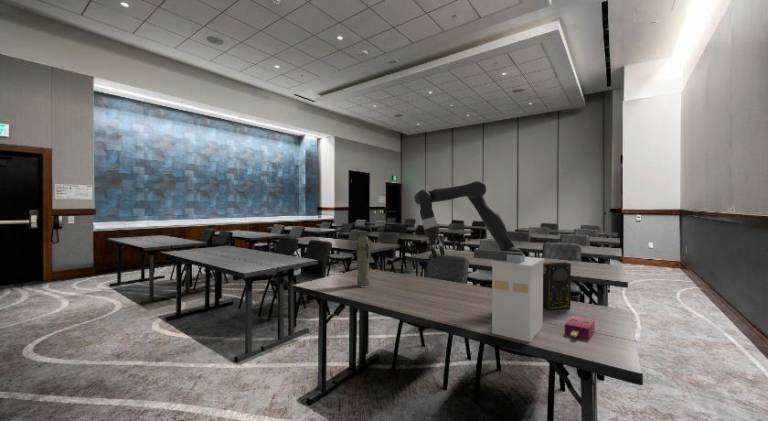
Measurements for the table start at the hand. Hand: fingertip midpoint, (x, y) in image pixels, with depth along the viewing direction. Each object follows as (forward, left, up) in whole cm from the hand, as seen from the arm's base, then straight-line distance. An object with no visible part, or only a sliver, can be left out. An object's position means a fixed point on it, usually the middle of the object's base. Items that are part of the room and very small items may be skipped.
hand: (439, 256), depth 177 cm
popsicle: (-42, +48, -30) cm, 71 cm away
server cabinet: (-20, +34, -30) cm, 50 cm away
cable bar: (-12, +30, +2) cm, 33 cm away
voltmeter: (-64, +16, -30) cm, 73 cm away
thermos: (+18, -72, -30) cm, 80 cm away
